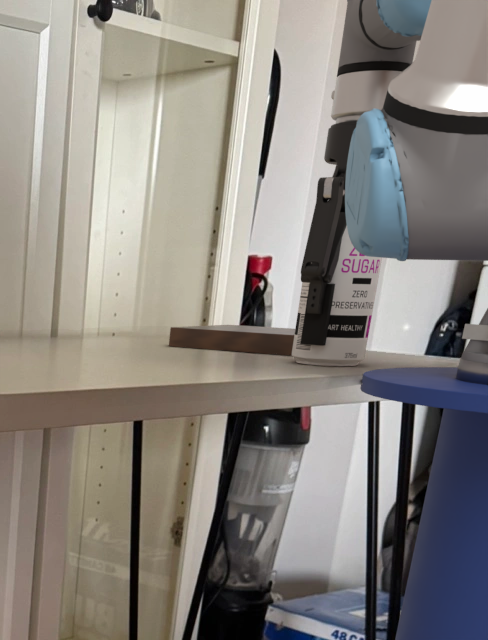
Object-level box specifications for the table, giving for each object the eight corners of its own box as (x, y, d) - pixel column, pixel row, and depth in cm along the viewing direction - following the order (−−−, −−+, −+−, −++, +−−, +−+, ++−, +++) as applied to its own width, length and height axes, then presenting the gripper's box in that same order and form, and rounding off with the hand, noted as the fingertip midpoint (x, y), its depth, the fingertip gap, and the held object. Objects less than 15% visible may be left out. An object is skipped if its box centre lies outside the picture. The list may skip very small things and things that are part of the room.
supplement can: (309, 359, 127) (330, 225, 121) (374, 364, 122) (399, 225, 116) (277, 362, 122) (298, 222, 116) (344, 368, 117) (369, 221, 111)
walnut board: (354, 351, 142) (357, 332, 141) (301, 356, 132) (305, 335, 131) (226, 342, 155) (228, 324, 154) (168, 346, 144) (170, 327, 143)
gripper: (371, 134, 121) (337, 338, 131) (288, 113, 107) (257, 344, 117) (436, 130, 117) (396, 342, 126) (358, 108, 103) (320, 349, 112)
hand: (329, 343), depth 121 cm, fingers closed on supplement can, 8 cm apart
